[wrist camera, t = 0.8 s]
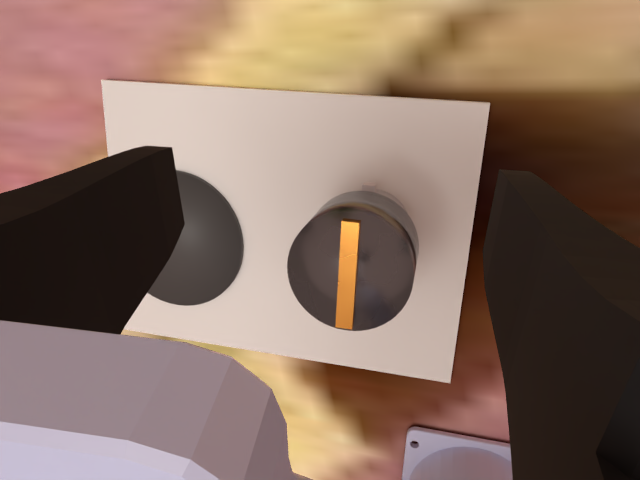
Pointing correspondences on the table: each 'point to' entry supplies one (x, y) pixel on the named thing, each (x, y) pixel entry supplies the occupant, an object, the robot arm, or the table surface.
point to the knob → (355, 261)
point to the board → (302, 212)
